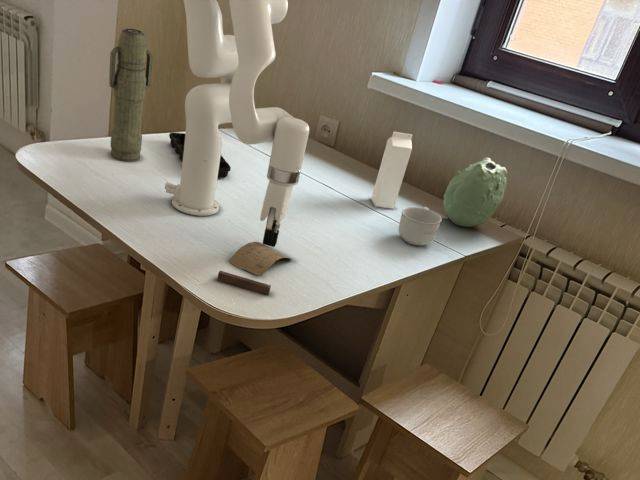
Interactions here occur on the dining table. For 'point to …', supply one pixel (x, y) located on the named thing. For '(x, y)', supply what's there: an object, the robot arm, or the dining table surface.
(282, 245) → the dining table surface
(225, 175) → the egg carton
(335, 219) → the dining table surface
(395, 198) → the milk
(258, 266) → the brown curved bark
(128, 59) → the thermos
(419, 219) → the teacup
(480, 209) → the green vase
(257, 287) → the bar
